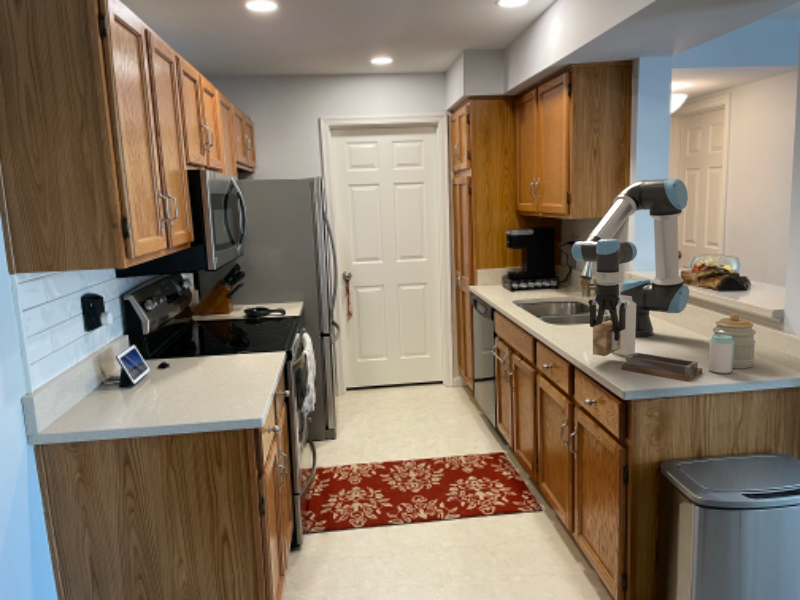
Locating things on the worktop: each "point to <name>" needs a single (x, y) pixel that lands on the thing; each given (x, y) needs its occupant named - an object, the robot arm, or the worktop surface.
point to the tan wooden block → (604, 339)
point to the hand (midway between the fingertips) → (607, 347)
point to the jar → (738, 339)
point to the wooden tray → (662, 366)
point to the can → (721, 354)
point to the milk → (627, 327)
